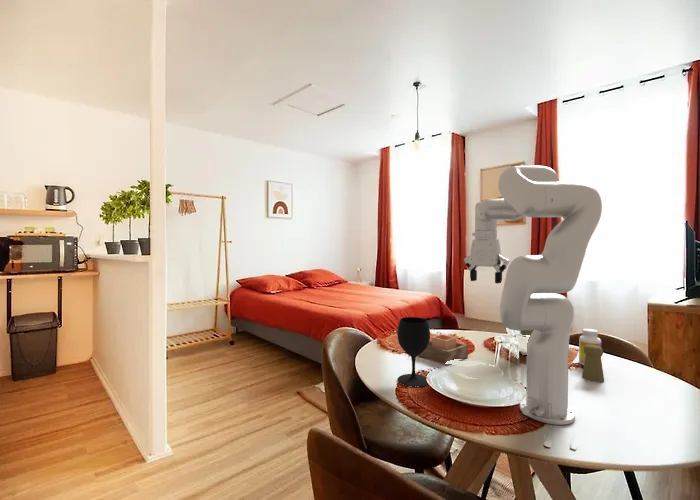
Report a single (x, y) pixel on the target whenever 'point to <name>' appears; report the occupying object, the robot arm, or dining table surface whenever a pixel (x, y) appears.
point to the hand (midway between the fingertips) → (485, 281)
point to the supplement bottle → (587, 342)
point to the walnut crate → (445, 353)
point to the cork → (593, 364)
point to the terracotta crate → (444, 342)
